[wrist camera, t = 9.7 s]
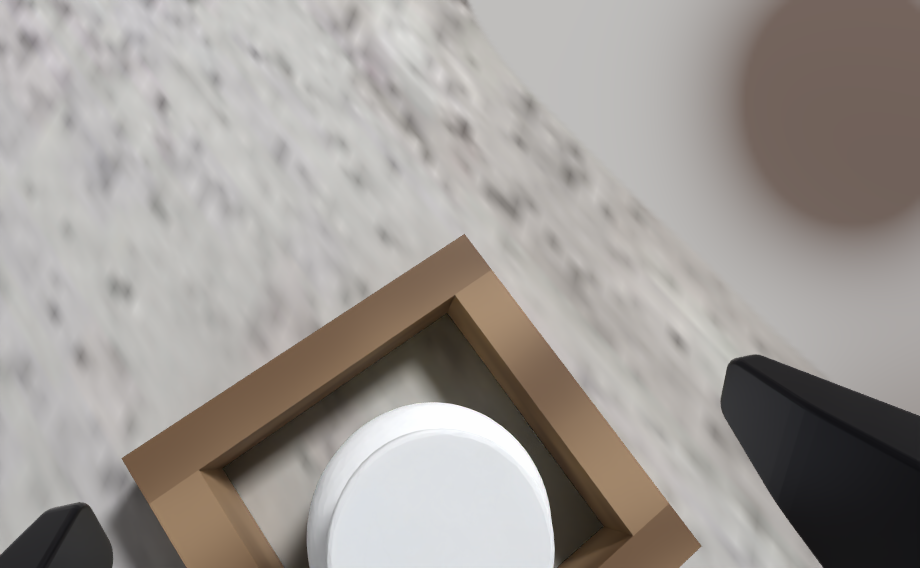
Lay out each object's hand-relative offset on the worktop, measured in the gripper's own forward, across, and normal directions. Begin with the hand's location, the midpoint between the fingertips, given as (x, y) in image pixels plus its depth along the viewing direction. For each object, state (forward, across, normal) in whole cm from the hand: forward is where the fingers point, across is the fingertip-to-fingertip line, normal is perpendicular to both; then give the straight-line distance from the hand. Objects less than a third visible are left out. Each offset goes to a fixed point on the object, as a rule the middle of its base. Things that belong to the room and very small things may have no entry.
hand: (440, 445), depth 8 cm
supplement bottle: (+8, 0, +10) cm, 12 cm away
